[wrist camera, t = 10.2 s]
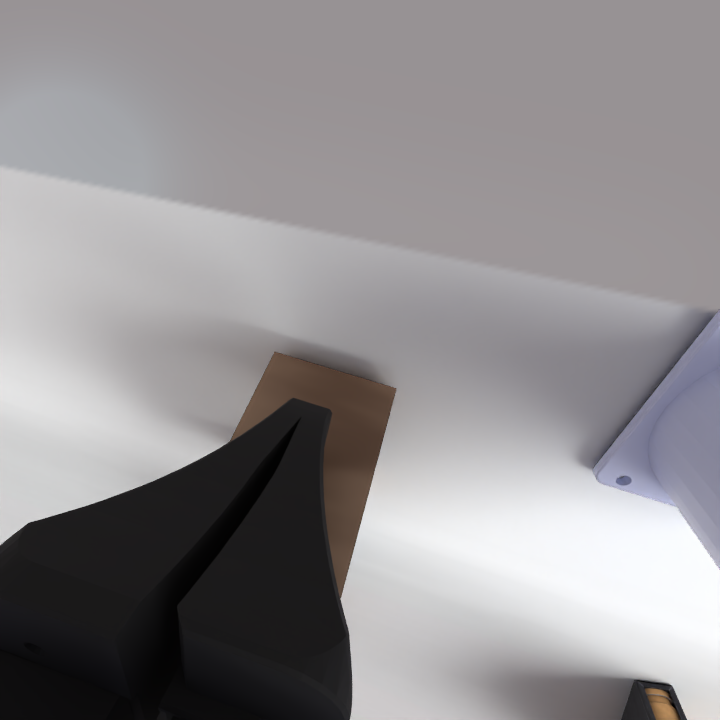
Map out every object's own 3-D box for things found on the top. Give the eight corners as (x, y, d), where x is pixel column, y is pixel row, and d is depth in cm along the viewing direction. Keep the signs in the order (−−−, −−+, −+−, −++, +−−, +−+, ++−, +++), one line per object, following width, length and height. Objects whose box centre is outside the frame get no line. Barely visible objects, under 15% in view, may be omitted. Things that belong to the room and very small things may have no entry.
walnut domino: (396, 388, 14) (341, 598, 10) (388, 406, 15) (338, 594, 12) (274, 351, 14) (179, 542, 10) (279, 373, 16) (197, 545, 12)
